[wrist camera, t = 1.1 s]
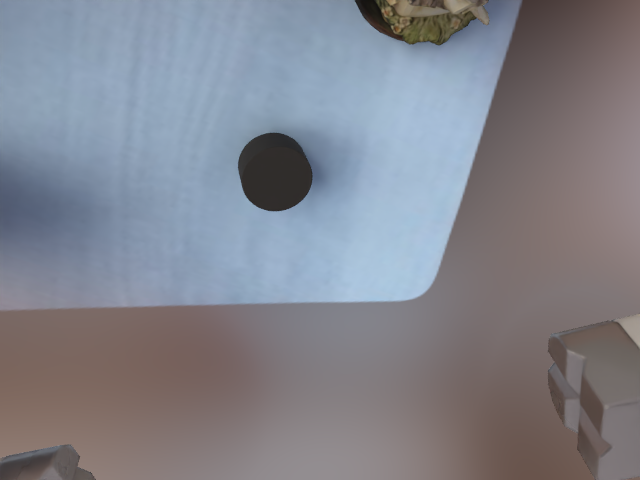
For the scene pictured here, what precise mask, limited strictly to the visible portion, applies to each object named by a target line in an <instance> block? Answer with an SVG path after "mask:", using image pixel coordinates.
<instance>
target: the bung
mask: <svg viewBox="0 0 640 480" xmlns="http://www.w3.org/2000/svg"><path fill="white" fill-rule="evenodd" d="M238 170H239V175H240V179H241V183H242V187H243V191H244V193H245V195H246V197H247V198H248V199H249V200H250V202H252V203H253V204H254V205H255V206H257V207H259V208H261V209H264V210H268V211H282V210H286V209H289V208H291V207H293V206H295V205H297V204H298V203H299V202H301V201H302V200H303V199H304V197H305V196H306V195H307V193H308V192H309V190H310V187H311V184H312V169H311V166H310V164H309V162H308V160H307V158H306V156H305V154H304V152H303V150H302V148H301V146H300V145H299V144H298V143H297V142H296V141H295V140H294V139H293V138H291V137H289V136H287V135H284V134H280V133H267V134H263V135H260V136H258V137H256V138H254V139H253V140H251V141H250V142H249V143H248V144H247V145H246V146H245V147H244V149H243V150H242V152H241V154H240V157H239V162H238Z"/></svg>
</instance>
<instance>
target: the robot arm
mask: <svg viewBox="0 0 640 480" xmlns="http://www.w3.org/2000/svg"><path fill="white" fill-rule="evenodd" d="M548 347H549V348H548V352H549V353H550V355H551V357H552V358H553V360H554V364H553V365H552V366H551V367H550V369H549V370H548V382H549V383H548V384H549V389H550V393H551V397H552V401H553V403H554V406H555V408H556V411H557V413H558V415H559V417H560V419H561V420H562V422H563V424H564V426H566V427H567V428H569V429H571V430H572V431H574V432H576V433H578V446H577V448H578V451H579V453H580V454H581V456H582V458H583V460H584V461H585V463H586V465H587V466H588V468H589V470H590V472H591V473H592V475H593V477H594V479H595V480H625V479H631V478H636V477H640V314H636V315H632V316H627V317H623V318H619V319H614V320H612V321H605V322H601V323H596V324H593V325H588V326H584V327H579V328H575V329H571V330H567V331H563V332H559V333H554V334H551V336H550V338H549V345H548ZM79 458H80V456H79V455H78V453H77V452H76V451H75V450H74V448H73V447H72V446H71V445H60V446H55V447H50V448H45V449H40V450H35V451H29V452H24V453H19V454H14V455H9V456H6V457H2V458H0V480H96V479H95V478H94V476H93V475H92V473H91V472H88V471H86V470H84V469H81V468H79V467H77V466H78V462H79Z"/></svg>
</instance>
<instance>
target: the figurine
mask: <svg viewBox="0 0 640 480" xmlns="http://www.w3.org/2000/svg"><path fill="white" fill-rule="evenodd" d="M488 1H489V0H355V2H356V4H357V6H358V8H359V10H360V11H361V13H362V15H363V17H364V18H365V19H366V20H367V21H368V22H369V23H370V25H371V26H373V27H374V28H375V29H377V30H378V31H379V32H381V33H384V34H386V35H388V36H390V37H392V38H395V39H397V40H400V41H405V42H406V43H408V44H415V43H417V42H426V41H430V42H432V43H434V44H436V45H441V44H443V43H445V42H446V41H448V39H449V38H450V37H451V35H453V34H454V33H455V32H457V31H460V30H462V29H463V28H464V27H466V26H468V24H469V22H470V21H471V20H475V19H476V18H478V19H479V20H480V21H481V22H482V23H483V24H485V25H488V24H489V16H488V12H487V11H486V9H485V8H484V6H483V5H485V4H486V3H488Z"/></svg>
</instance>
